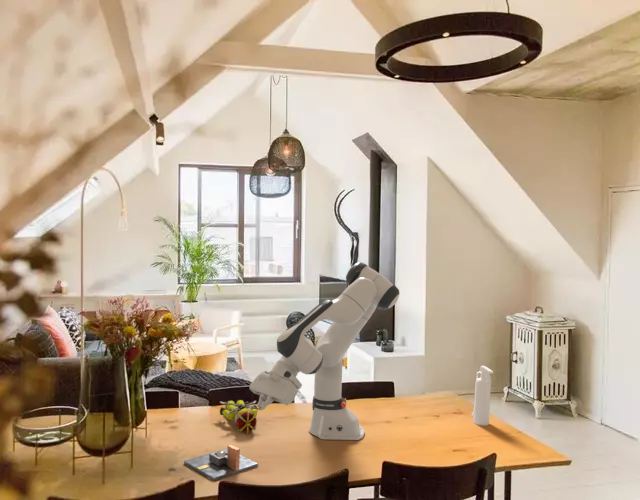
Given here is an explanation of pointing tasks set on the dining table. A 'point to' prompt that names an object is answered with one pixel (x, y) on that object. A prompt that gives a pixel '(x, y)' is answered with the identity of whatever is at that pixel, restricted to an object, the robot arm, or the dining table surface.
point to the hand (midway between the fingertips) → (260, 407)
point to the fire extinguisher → (482, 397)
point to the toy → (241, 414)
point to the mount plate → (217, 471)
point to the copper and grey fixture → (227, 458)
